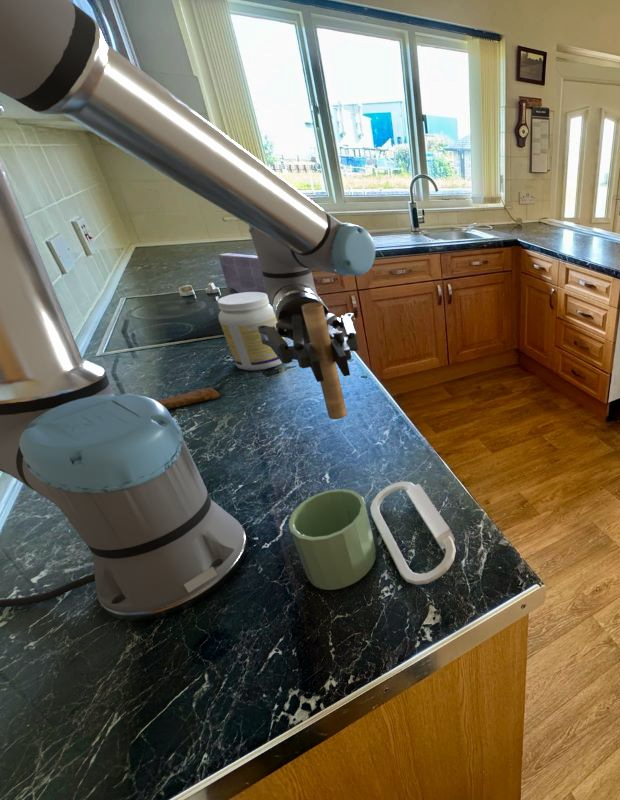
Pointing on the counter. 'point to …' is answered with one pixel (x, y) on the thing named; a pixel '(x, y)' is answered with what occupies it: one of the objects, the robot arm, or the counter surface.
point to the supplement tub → (248, 329)
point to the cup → (333, 538)
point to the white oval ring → (432, 522)
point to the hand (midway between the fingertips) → (331, 368)
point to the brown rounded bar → (189, 398)
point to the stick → (325, 359)
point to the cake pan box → (242, 273)
